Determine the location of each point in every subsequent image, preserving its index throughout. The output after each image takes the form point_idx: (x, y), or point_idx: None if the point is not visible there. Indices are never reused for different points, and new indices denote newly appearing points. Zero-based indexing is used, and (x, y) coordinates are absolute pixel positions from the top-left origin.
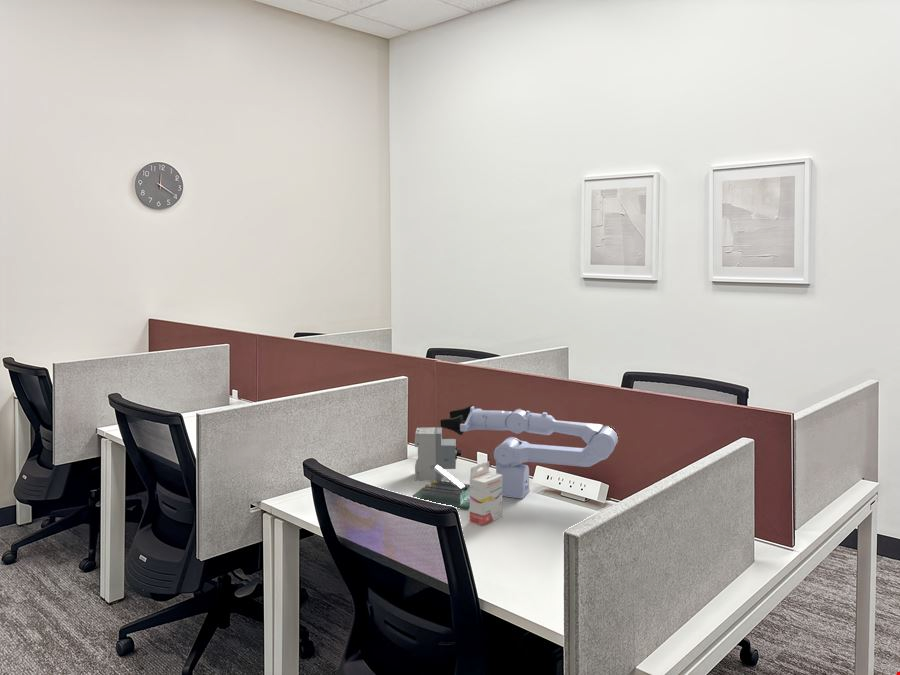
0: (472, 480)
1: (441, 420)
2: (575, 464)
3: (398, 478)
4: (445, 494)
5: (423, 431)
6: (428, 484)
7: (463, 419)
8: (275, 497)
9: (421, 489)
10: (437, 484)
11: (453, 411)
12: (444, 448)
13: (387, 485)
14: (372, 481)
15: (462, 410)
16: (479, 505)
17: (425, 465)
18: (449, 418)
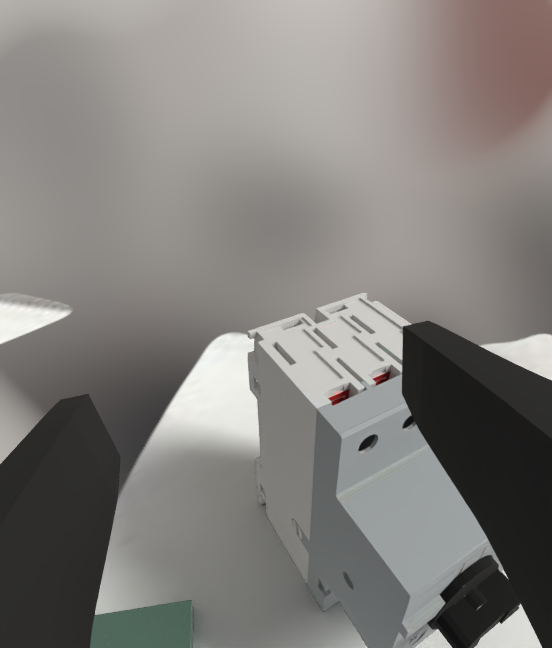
0: None
1: (48, 412)
2: None
3: (251, 436)
4: None
5: (315, 339)
6: (189, 606)
7: (513, 570)
8: (4, 305)
9: (99, 620)
10: None
11: (430, 352)
12: (348, 529)
13: (162, 446)
14: (185, 392)
15: (545, 455)
16: None
17: (279, 495)
18: (23, 490)
